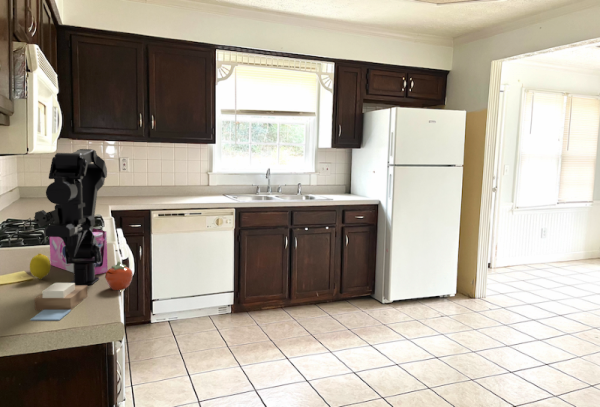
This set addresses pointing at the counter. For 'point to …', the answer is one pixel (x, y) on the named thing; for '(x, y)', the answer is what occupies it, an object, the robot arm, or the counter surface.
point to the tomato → (119, 276)
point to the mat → (50, 315)
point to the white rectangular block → (58, 290)
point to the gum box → (60, 261)
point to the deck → (62, 300)
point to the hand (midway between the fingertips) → (72, 256)
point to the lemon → (40, 266)
